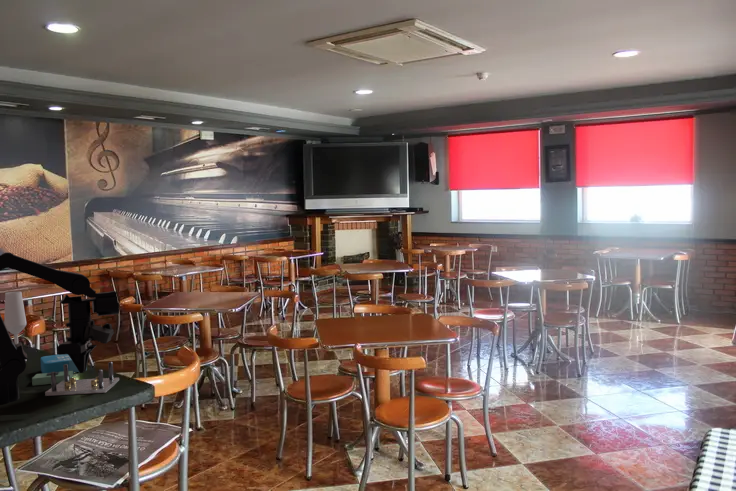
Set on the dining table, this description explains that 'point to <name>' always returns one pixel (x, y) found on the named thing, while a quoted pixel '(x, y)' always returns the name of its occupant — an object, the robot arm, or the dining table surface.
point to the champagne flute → (14, 314)
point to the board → (49, 378)
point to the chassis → (82, 383)
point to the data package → (57, 363)
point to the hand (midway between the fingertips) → (82, 372)
